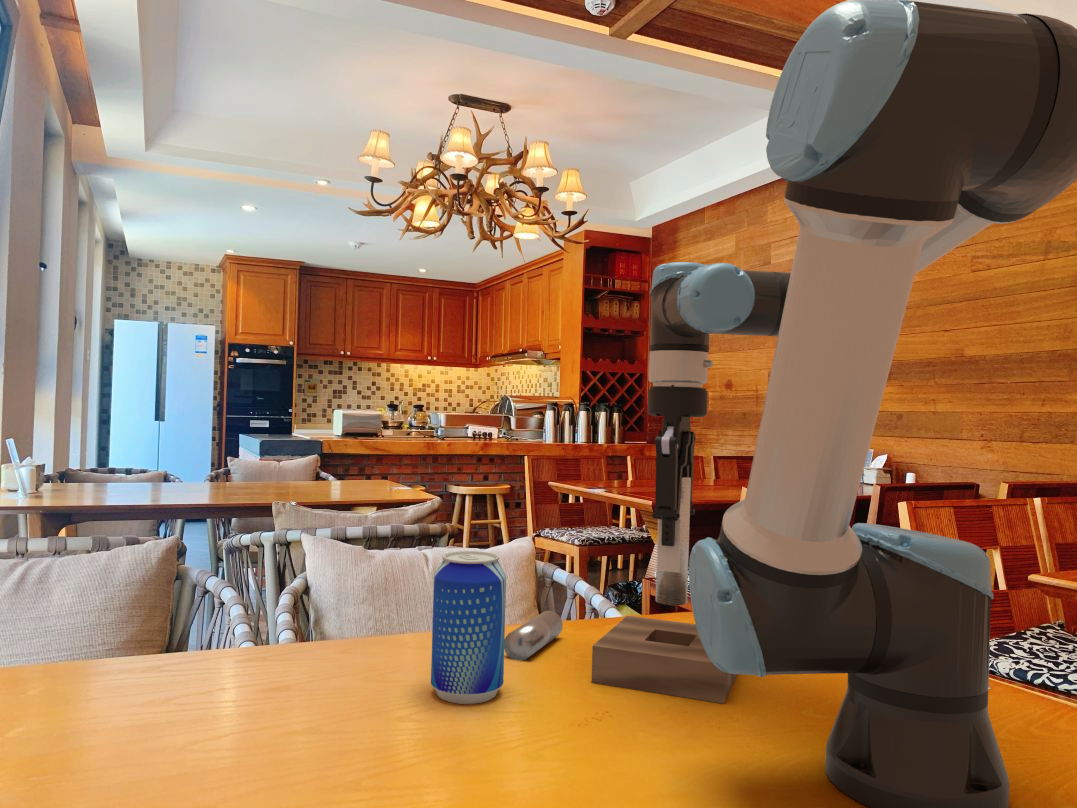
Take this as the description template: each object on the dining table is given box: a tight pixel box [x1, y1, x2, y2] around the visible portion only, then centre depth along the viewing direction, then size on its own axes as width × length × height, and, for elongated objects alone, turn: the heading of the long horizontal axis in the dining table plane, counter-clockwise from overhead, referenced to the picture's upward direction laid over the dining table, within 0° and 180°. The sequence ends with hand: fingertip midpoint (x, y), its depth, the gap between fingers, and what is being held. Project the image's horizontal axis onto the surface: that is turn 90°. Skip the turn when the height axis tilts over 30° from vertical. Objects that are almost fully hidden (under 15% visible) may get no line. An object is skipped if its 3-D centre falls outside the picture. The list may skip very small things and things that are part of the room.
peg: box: [655, 476, 691, 606], centre depth 103 cm, size 4×4×16 cm
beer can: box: [430, 550, 507, 705], centre depth 93 cm, size 8×8×16 cm
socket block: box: [591, 615, 738, 705], centre depth 103 cm, size 16×16×4 cm
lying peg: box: [504, 610, 563, 662], centre depth 112 cm, size 12×4×4 cm, turn 158°
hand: (672, 567), depth 103 cm, fingers closed on peg, 4 cm apart
